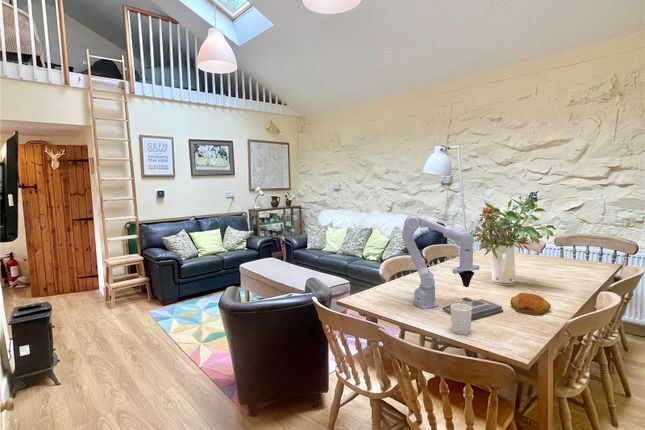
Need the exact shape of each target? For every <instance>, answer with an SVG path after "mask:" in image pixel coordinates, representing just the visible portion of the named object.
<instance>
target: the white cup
mask: <svg viewBox="0 0 645 430" xmlns="http://www.w3.org/2000/svg"><path fill="white" fill-rule="evenodd" d="M460 303H461V302H460ZM460 303H453V304H451V305H450V306H451V315H450V319H451V320H450V321H451V329H452V332H453V333H455V334H457V335H461V336H462V335H465V336H466V335H469V334H470V333H471V326H472V321H471V317H472V307H471V306H469V305H466V304H460ZM472 318H473V317H472Z"/></svg>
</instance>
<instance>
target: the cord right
mask: <svg viewBox="0 0 645 430" xmlns="http://www.w3.org/2000/svg"><path fill="white" fill-rule="evenodd" d="M503 312H504V309H502V310H498V311H494V312H491V313H487V314H483V315H480V316H476V317H472V318H471V322H472V321H475V320H479V319H481V318H485V317H489V316H492V315H495V314H496V315H497V314H500V313H503Z"/></svg>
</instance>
